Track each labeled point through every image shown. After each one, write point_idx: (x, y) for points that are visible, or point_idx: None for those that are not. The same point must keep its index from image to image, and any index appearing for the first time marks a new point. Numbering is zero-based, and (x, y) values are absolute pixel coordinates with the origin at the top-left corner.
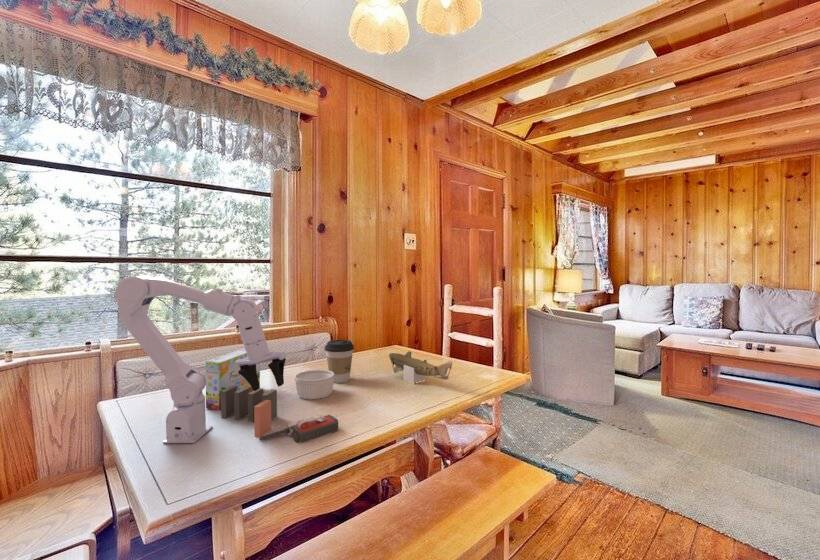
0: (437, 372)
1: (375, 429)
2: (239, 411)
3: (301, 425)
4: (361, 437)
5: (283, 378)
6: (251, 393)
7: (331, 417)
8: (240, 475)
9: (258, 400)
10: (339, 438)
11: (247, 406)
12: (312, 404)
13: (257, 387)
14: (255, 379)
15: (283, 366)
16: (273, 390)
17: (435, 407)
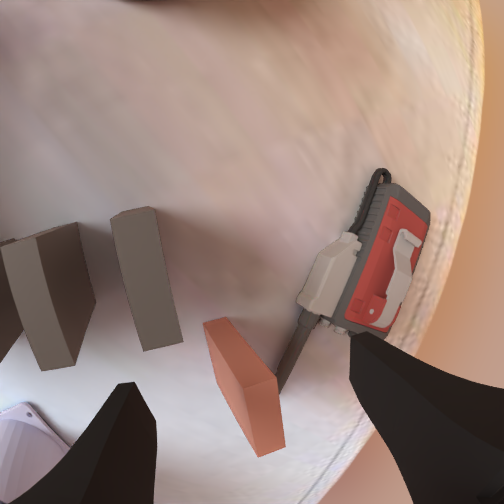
0: None
1: (460, 179)
2: (23, 328)
3: (387, 327)
4: (454, 230)
5: (393, 347)
6: (58, 359)
7: (415, 206)
8: (322, 467)
9: (67, 282)
10: (427, 258)
11: (4, 269)
12: (214, 34)
13: (143, 413)
14: (127, 463)
15: (485, 397)
16: (144, 235)
17: (476, 47)
